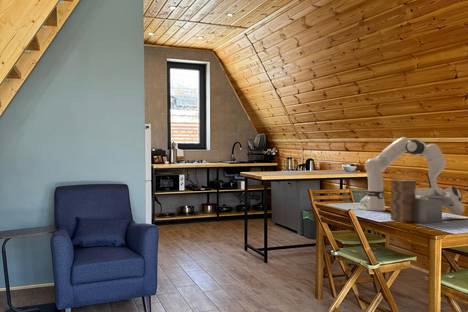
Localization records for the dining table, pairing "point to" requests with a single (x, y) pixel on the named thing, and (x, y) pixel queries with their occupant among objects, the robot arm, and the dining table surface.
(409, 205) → the tall wooden cabinet
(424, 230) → the dining table surface
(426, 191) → the grey rectangular block
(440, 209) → the riser block
